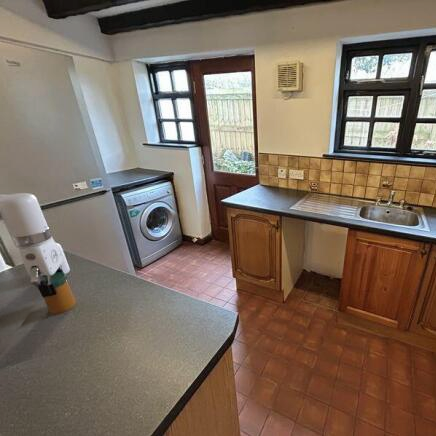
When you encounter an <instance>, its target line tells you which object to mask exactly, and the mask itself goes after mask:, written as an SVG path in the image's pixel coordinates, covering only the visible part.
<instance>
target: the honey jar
mask: <svg viewBox="0 0 436 436" xmlns="http://www.w3.org/2000/svg"><path fill="white" fill-rule="evenodd" d="M55 289H56V291H57V294H56V295H53V296H48V297H42V299H43V300H44V303H45V305H46V307H47V309H48V311H49V313H50V314H52V315H59V314H62V313H65V312H67V311H70V310H71V309H73V307H74V306H75V305H76V304H77V301H76V298H75V296H74V294H73V291H72V289H71V286H70V284H69V282H68V280H67V281H66V282H65V283H64V284H62V285H61V286H59V287H56V288H55Z"/></svg>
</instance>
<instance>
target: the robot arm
mask: <svg viewBox="0 0 436 436" xmlns="http://www.w3.org/2000/svg"><path fill="white" fill-rule="evenodd" d="M0 221H3V224H4V225H5V227H6V229H7V232H8V234H9V236H10V238H11V240H12V242H13V244H14V246H15V248H16V249H17V248H18V250H19V254H20V257H21V261H22V263H23V266H24V268H25V271H26V272H27V275H28V276H29V278H30V284H32V285H33V286H35V287H36V288H37V290H39V293H40V295H41V297H42V298H43V297H48V296H53V295H56V294H57V291H56V289H55V287H54V285H53V283H51V281H50V276H51V275H53V274H54V273H57V272H63V270H62V269H61V268H62V267H61V263H62V262H63V258H62V255H61V253H60V251H59V249H58V247H57V245H56V243H57V242H56V241H55V239H54V238H53V235H52V232H51V230H50V228H49V226H48V223H47V221H46V218H45V216H44V213H43V211H42V208H41V205H40V203H39V201H38V198H37V197H36V196H35V195H34V194H32V193H29V192H28V193H27V192H20V193H11V194H1V193H0ZM42 273H43V274H44V275H41V274H42ZM43 277H45V278H46V281H44V280H42V281H41V280H40V278H43Z"/></svg>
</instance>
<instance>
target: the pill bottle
mask: <svg viewBox="0 0 436 436" xmlns="http://www.w3.org/2000/svg"><path fill="white" fill-rule="evenodd" d="M55 243H56V245H57V247H58V249H59V251H60V253H61V255H62V258H63V262H62V263H61V267H62V268H61V269H62V270H63V273H65V275H67V274H69V272H70V271H71V269H70V265H69V263H68V260H67V258H66V254H65V252H64V250H63V248H62V245H61V243H58V242H55ZM42 275H44V274H43V273H42V274H40V276H42Z"/></svg>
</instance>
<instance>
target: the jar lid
mask: <svg viewBox="0 0 436 436" xmlns="http://www.w3.org/2000/svg"><path fill="white" fill-rule="evenodd" d="M40 280H41V281H42V280H44V281H46V278H45V277H43V278H40ZM50 281H51V283H53V285H54V287H55V288H56V287H59V286H61V285H62V284H64V283H65V282H66V281H68V277H67V274H65V273H63V272H57V273H54V274H53V275H51V276H50Z"/></svg>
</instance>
